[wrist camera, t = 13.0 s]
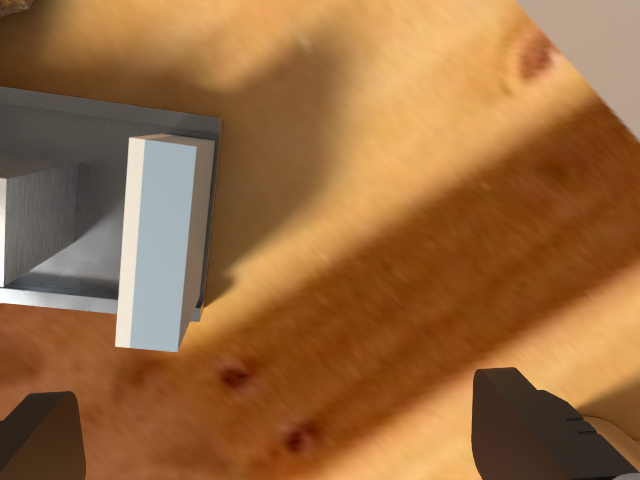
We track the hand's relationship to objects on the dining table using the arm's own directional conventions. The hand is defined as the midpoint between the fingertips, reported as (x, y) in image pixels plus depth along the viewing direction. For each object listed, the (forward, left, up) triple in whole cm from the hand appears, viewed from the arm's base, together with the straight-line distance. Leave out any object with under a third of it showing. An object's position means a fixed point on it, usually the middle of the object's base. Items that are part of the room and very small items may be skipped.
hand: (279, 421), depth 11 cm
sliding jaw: (+5, 0, -20) cm, 20 cm away
